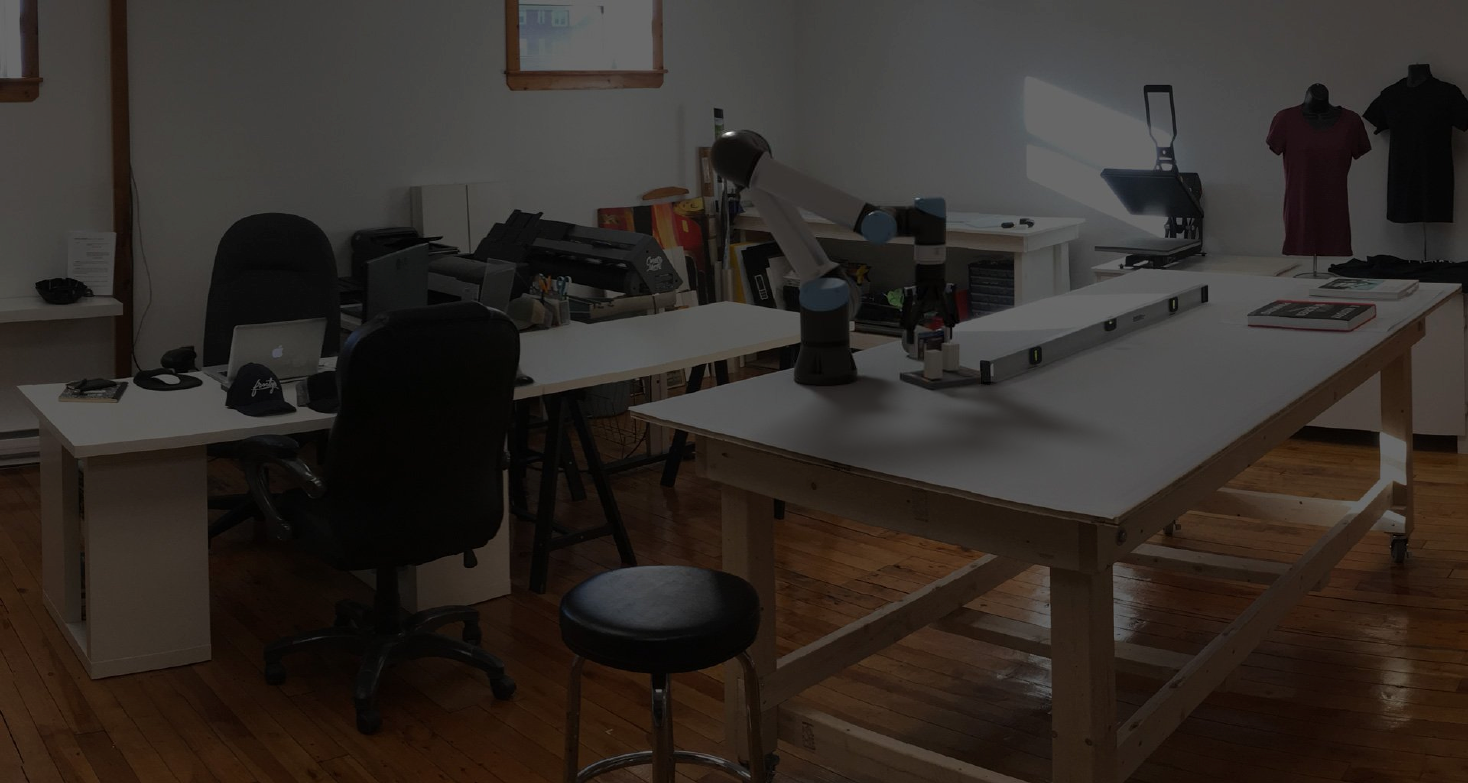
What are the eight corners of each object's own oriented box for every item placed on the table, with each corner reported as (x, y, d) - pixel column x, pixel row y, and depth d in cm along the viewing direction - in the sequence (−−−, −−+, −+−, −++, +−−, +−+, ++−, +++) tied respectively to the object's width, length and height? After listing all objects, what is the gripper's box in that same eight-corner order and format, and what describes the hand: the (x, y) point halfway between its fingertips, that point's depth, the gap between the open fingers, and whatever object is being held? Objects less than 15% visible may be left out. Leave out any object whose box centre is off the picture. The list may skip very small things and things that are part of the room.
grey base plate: (931, 389, 292) (931, 383, 291) (899, 379, 304) (899, 372, 304) (994, 381, 298) (994, 375, 298) (960, 371, 311) (960, 365, 310)
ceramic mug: (919, 359, 327) (920, 330, 325) (900, 355, 334) (901, 325, 332) (952, 355, 332) (953, 326, 330) (933, 351, 339) (933, 322, 337)
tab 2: (948, 370, 303) (948, 345, 301) (941, 368, 305) (941, 343, 304) (959, 369, 304) (959, 344, 303) (952, 367, 307) (952, 342, 305)
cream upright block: (931, 379, 294) (931, 352, 293) (924, 376, 297) (924, 350, 295) (942, 377, 295) (942, 351, 294) (935, 375, 298) (935, 349, 297)
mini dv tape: (918, 359, 310) (918, 334, 309) (914, 358, 311) (914, 333, 310) (944, 354, 314) (944, 330, 313) (940, 354, 315) (940, 329, 314)
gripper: (899, 266, 300) (899, 362, 305) (976, 260, 308) (974, 353, 313) (883, 263, 307) (883, 357, 312) (958, 257, 315) (957, 348, 320)
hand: (929, 355), depth 313 cm, fingers closed on mini dv tape, 8 cm apart
